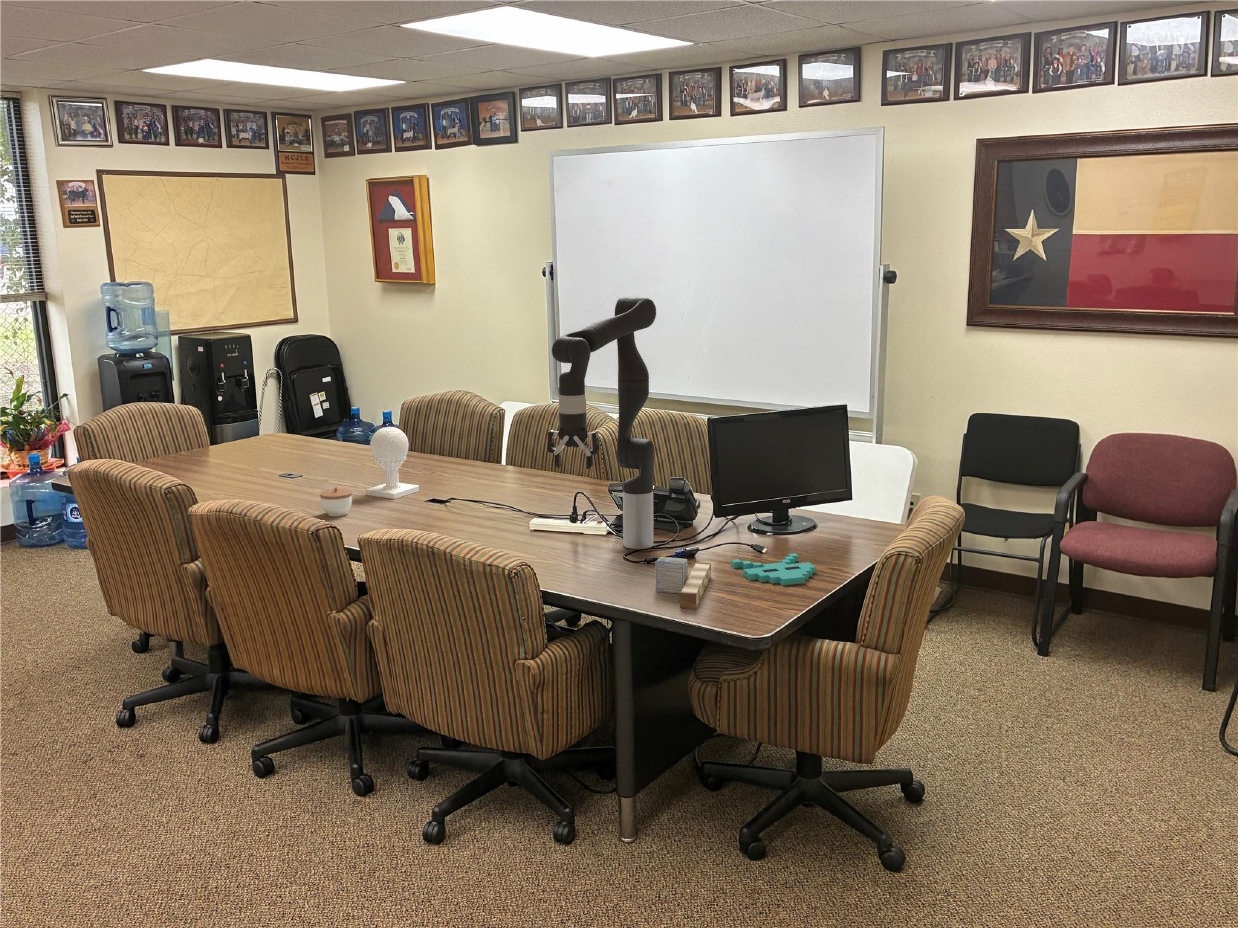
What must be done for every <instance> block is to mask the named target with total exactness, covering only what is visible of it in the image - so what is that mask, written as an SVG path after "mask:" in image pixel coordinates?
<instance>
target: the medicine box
mask: <svg viewBox="0 0 1238 928" xmlns="http://www.w3.org/2000/svg"><path fill="white" fill-rule="evenodd" d="M654 562H655V564H654V565H655V592H656V593H657V592H659V593H669V594H678V595H680V592H681V591H682V589H683V587H684V585H685V583H686V581H687V579H688V578H689V576H688V573H689V572H688V571H689V569H688V568H689V567H688V566H689V565H688V564H689V563H688V562H689V559H687V558H680V557H670V556H669V557H667V556H660V557H659V558H658V559H657V560H656V561H654Z"/></svg>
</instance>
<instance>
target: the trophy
mask: <svg viewBox="0 0 1238 928" xmlns="http://www.w3.org/2000/svg"><path fill="white" fill-rule="evenodd" d="M369 445H370V451H371V454H372V456H373V458H374V461H375V463H376V464H378V465H379V467H380V468H381V469H383V470H384V482H385V483H383V484H379V485H376V486H373V487H370V488H367V489H365V494H366V496H371V497H378V498H385V499H391V500H396V499H399V498H402V497H405V496H408V495H411V494H414V493H417V492H419V491H420V485H418V484H409V483H401V482H400V480H399V479H400V478H399V469H400V467H402V465H403V464H404V462H405V461H406V460H407V459H408V457H407V454H408V451H409V447H410V446H409V445H410V443H409V439H408V437H407V435H406V434H405V432H403V430H401V429H399V428H397V427H394V426H384V427H381V428H379V429H378V430H377V431H375V433H374V434H373V435H372V436H371V439H370V444H369Z"/></svg>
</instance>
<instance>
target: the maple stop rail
mask: <svg viewBox="0 0 1238 928" xmlns="http://www.w3.org/2000/svg"><path fill="white" fill-rule="evenodd" d="M711 575H712V562H700V561H696V562H695V563H694V566H693V567H692V570H691V572H690V574H689V576H688V579H687V581H686V583H685V585H684V587H683V589H682V591H681V592H680V594H679V606H680V607H679V608H680V609H688V610H689V609H690V610H697V608H698V605H699V603H700V601H701V598H702V596H703V594H704V592H705V590H706V588H707V585H708V583H709V581H710V579H711V578H712V576H711Z"/></svg>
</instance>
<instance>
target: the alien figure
mask: <svg viewBox="0 0 1238 928" xmlns="http://www.w3.org/2000/svg"><path fill="white" fill-rule="evenodd" d="M783 557H784V558H783V559H780V562H773V563H765V564H763V563H761V562H760V561H758V562H751V561H750V560H745V561H741V560H740V559H737V558H736V559H731V561H730V566H731V567H732V568H733V569H740V568H742V570H743V572H742V573H743V574H742V575H743V577H745V578H746V579H747V580H748V581H755V580H757V581H758V582H760V583H763V582H765V583H767V582H768V583H770V584H771V585H772V584H780V585H781V586H791V585H799V584H805V583H806V580H807V581H808V580H809V577H810V578H811V577H813V574H816V573H817V567H816V566H815V565H814V564H812V563H811V562H809V561H808V562H807V561H806V562H799V554H797V553H795V552H794V553H788V554H787V556H783ZM796 562H799V563H796Z"/></svg>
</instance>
